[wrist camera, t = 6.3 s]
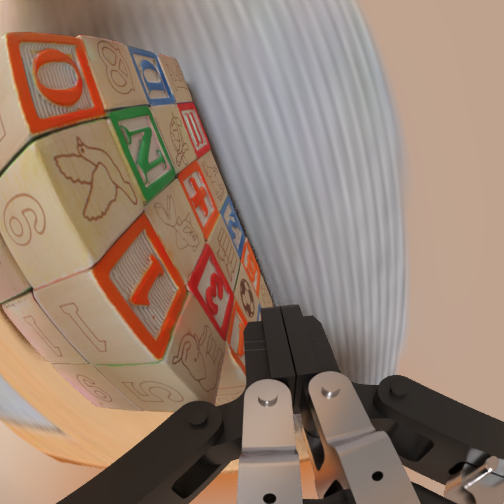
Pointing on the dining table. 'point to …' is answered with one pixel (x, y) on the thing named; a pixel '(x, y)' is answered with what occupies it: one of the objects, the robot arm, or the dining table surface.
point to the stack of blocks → (119, 226)
